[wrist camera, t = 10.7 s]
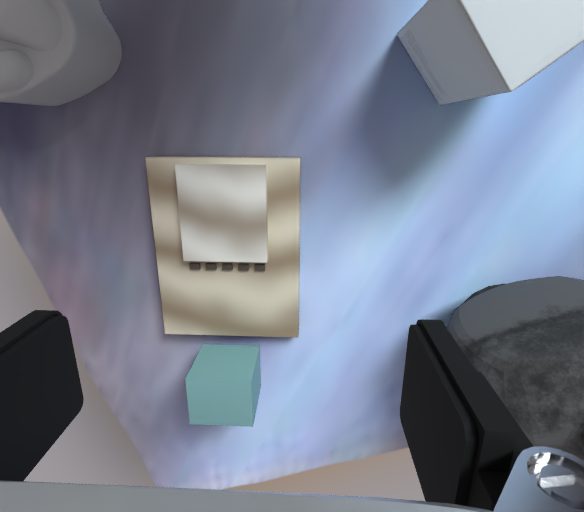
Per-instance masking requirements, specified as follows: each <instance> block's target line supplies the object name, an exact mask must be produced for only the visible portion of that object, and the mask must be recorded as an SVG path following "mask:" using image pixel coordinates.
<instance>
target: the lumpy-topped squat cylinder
mask: <svg viewBox="0 0 584 512" xmlns="http://www.w3.org/2000/svg"><path fill="white" fill-rule="evenodd" d="M121 58H122V46H121V42H120V39H119V37H118V35H117V33H116V31H115V30H114V28H113V27H112V25H111V24H110V22H109V21H108V19H107V17H106V16H105V14H104V12H103V10H102V8H101V5H100V2H99V0H0V102H8V103H19V104H31V105H43V106H59V105H62V104H65V103H68V102H71V101H73V100H76V99H78V98H80V97H82V96H84V95H86V94H88V93H90V92H92V91H93V90H95V89H96V88H98V87H99V86H101V85H103V84H104V83H106V82H107V81H108V80H110V79H111V78H112V77H113V75H114V74H115V73H116V71H117V69H118V67H119V65H120V62H121Z"/></svg>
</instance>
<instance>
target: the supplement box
mask: <svg viewBox="0 0 584 512" xmlns="http://www.w3.org/2000/svg"><path fill="white" fill-rule="evenodd" d="M397 35H398V37H399V39H400V40H401V42H402V44H403V45H404V47H405V49H406V50H407V52H408V54H409V55H410V57H411V59H412V60H413V62H414V64H415V65H416V67H417V69H418V70H419V72H420V74H421V75H422V77H423V79H424V80H425V82H426V84H427V85H428V87H429V88H430V90H431V92H432V93H433V95H434V97H435V98H436V100H437V102H438V103H439V104H440V105H444V104H450V103H455V102H460V101H465V100H470V99H475V98H480V97H485V96H490V95H496V94H501V93H506V92H512V91H513V90H515V89H517V88H518V87H520V86H521V85H522V84H524V83H525V82H527V81H528V80H530V79H531V78H533V77H534V76H535V75H537V74H538V73H539V72H541V71H542V70H544V69H545V68H546V67H548V66H549V65H551V64H552V63H554V62H555V61H556V60H558V59H559V58H561V57H562V56H563V55H565V54H566V53H568V52H569V51H570V50H572V49H573V48H574V47H576V46H577V45H579V44H580V43H581V42H583V41H584V0H429V1H428V2H427V3H426V4H425V5H424V6H423V7H422V8H421V9H420V10H419V11H418V12H417V13H416V14H415V15H414V16H413V17H412V18H411V19H410V21H409V22H408V23H407V24H406V25H405V26H404V27H403V28H402V29H401V30H400V31H399V32H398V33H397Z"/></svg>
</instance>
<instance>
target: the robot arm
mask: <svg viewBox="0 0 584 512" xmlns="http://www.w3.org/2000/svg"><path fill="white" fill-rule="evenodd" d="M82 405H83V394H82V389H81V384H80V378H79V373H78V368H77V364H76V358H75V353H74V348H73V343H72V338H71V333H70V328H69V323H68V320H67V318H66V317H65V316H62V314H61V313H60V312H59V311H46V310H35V311H33V312H31V313H29V314H28V315H26V316H25V317H23V318H22V319H20V320H19V321H17V322H16V323H14V324H13V325H11V326H10V327H8V328H7V329H5V330H4V331H2V332H1V333H0V512H584V460H582V459H580V458H578V457H576V456H574V455H573V454H570V453H567V452H564V451H562V450H559V449H555V448H550V447H545V446H541V447H534V446H533V445H532V443H531V442H530V440H529V439H528V438H527V436H526V435H525V433H524V432H523V430H522V429H521V428H520V426H519V425H518V423H517V422H516V420H515V419H514V418H513V416H512V415H511V413H510V412H509V411H508V409H507V408H506V406H505V405H504V403H503V402H502V401H501V399H500V398H499V396H498V395H497V393H496V392H495V391H494V389H493V388H492V386H491V385H490V384H489V382H488V381H487V379H486V378H485V376H484V375H483V374H482V373H481V372H479V371H476V370H475V369H474V367H473V366H472V364H471V363H470V361H469V360H468V359H467V357H466V356H465V354H464V353H463V351H462V350H461V348H460V347H459V345H458V344H457V342H456V341H455V340H454V338H453V337H452V335H451V334H450V332H449V331H448V329H447V328H446V326H445V325H444V323H443V322H442V321H441V320H418V321H417V324H416V325H411V326H410V328H409V335H408V343H407V352H406V361H405V370H404V379H403V388H402V397H401V406H400V417H401V423H402V426H403V430H404V433H405V436H406V439H407V443H408V446H409V449H410V452H411V455H412V459H413V462H414V465H415V468H416V472H417V475H418V478H419V481H420V484H421V488H422V491H423V494H424V497H425V501H414V500H402V499H390V498H376V497H356V496H354V497H353V496H336V495H315V494H295V493H275V492H254V491H231V490H211V489H188V488H166V487H143V486H142V487H141V486H119V485H97V484H96V485H95V484H73V483H72V484H71V483H48V482H26V481H24V479H25V478H26V477H27V476H28V475H29V473H30V472H31V471H32V470H33V468H34V467H35V466H36V465H37V463H38V462H39V461H40V460H41V459H42V457H43V456H44V455H45V453H46V452H47V451H48V450H49V449H50V447H51V446H52V445H53V444H54V443H55V441H56V440H57V439H58V438H59V436H60V435H61V434H62V433H63V432H64V430H65V429H66V427H68V425H69V424H70V423H71V422H72V420H73V419H74V418H75V417H76V416H77V414H78V413H79V412H80V410H81V408H82Z"/></svg>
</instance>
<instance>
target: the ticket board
mask: <svg viewBox="0 0 584 512" xmlns="http://www.w3.org/2000/svg"><path fill="white" fill-rule="evenodd" d="M145 159H146V168H147V177H148V186H149V195H150V204H151V213H152V222H153V231H154V239H155V248H156V257H157V266H158V275H159V284H160V293H161V302H162V311H163V320H164V329H165V334H189V335H227V336H264V337H298V333H299V261H300V170H301V157H215V156H151V157H146V158H145Z"/></svg>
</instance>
